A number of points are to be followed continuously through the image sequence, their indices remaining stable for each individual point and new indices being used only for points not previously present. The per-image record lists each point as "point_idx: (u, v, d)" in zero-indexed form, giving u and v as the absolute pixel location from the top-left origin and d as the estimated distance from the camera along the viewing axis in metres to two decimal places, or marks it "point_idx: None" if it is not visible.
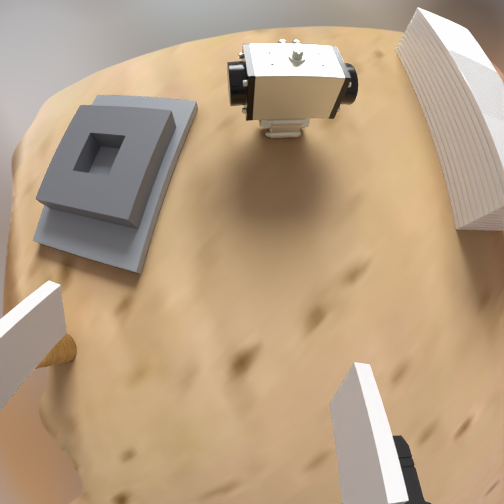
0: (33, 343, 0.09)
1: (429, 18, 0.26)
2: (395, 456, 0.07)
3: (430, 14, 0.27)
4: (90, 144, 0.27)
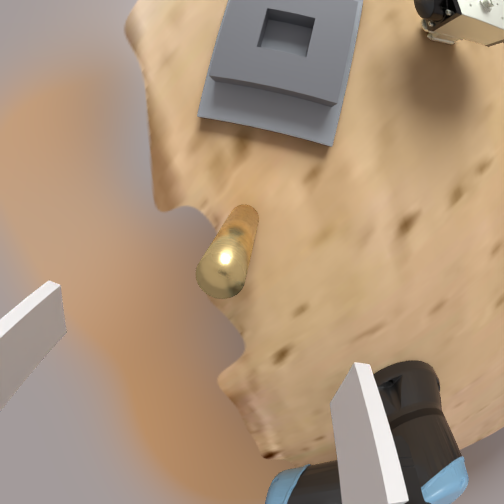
0: (33, 343, 0.09)
1: None
2: (395, 456, 0.07)
3: None
4: (265, 19, 0.22)
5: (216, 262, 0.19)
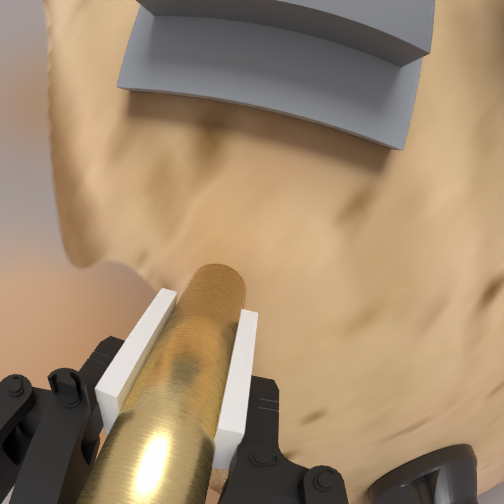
0: None
1: None
2: (248, 391, 0.09)
3: None
4: None
5: None
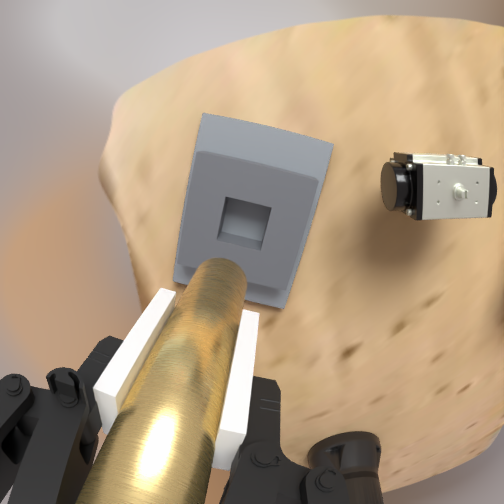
0: None
1: None
2: (250, 391, 0.09)
3: None
4: (225, 203, 0.30)
5: None
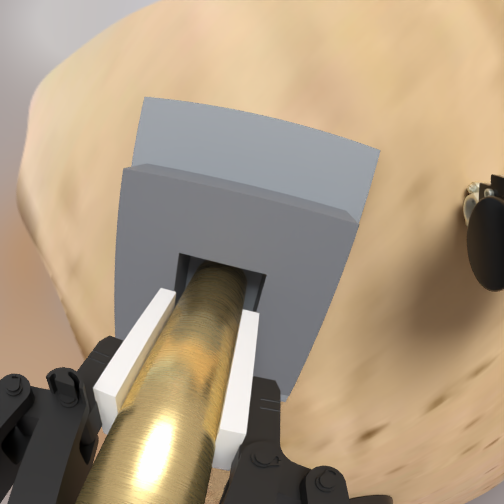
0: None
1: None
2: (250, 391, 0.09)
3: None
4: (182, 261, 0.16)
5: None
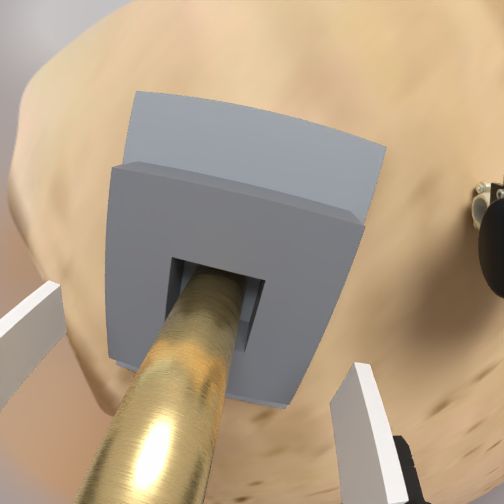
0: (33, 343, 0.09)
1: None
2: (395, 456, 0.07)
3: None
4: (175, 265, 0.15)
5: None
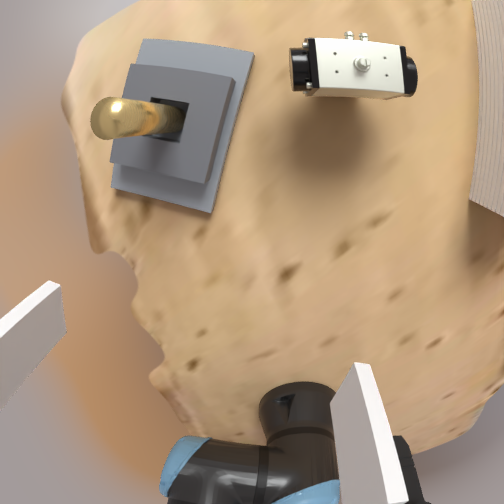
0: (33, 343, 0.09)
1: None
2: (395, 456, 0.07)
3: None
4: None
5: (105, 105, 0.18)
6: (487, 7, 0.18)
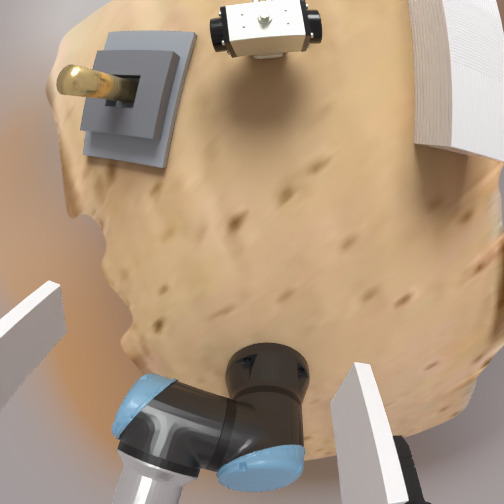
0: (33, 343, 0.09)
1: None
2: (395, 456, 0.07)
3: None
4: None
5: (67, 71, 0.21)
6: None
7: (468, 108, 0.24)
